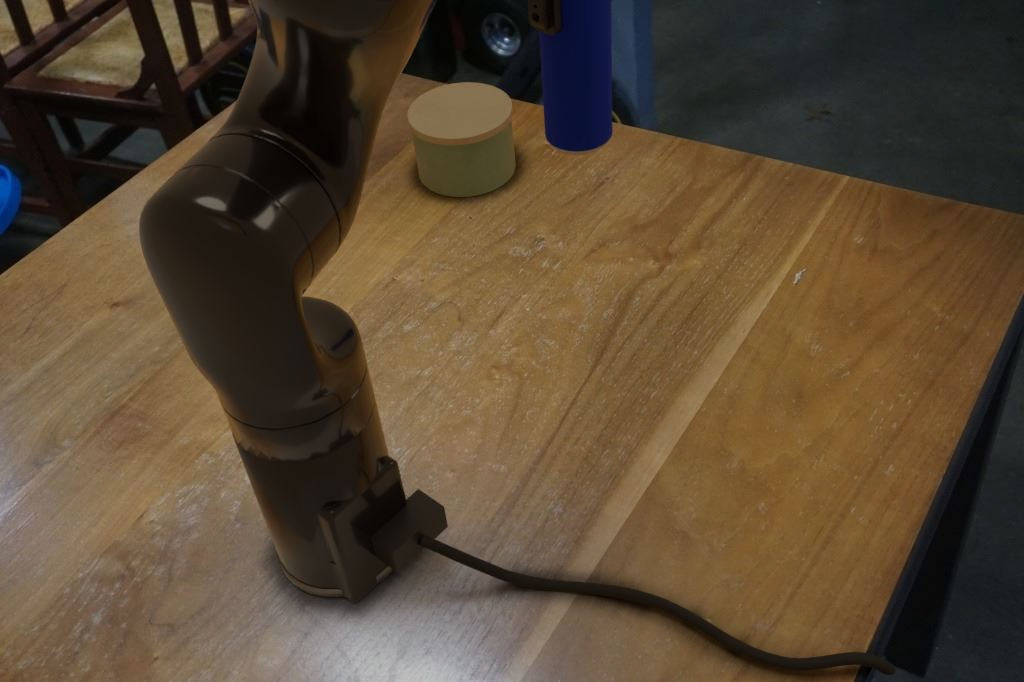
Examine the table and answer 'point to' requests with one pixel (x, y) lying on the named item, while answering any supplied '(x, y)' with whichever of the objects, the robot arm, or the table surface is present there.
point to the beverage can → (578, 78)
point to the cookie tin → (463, 138)
